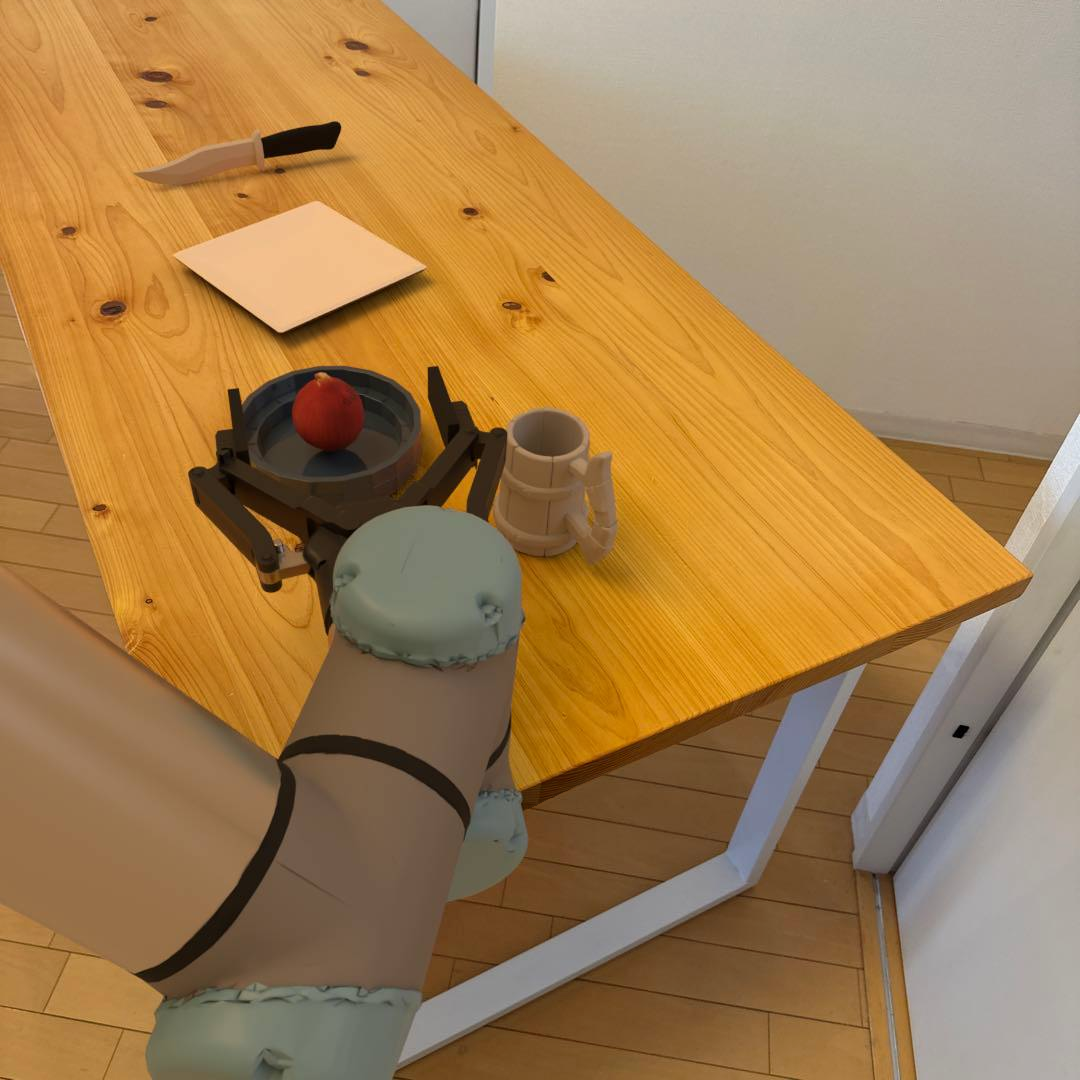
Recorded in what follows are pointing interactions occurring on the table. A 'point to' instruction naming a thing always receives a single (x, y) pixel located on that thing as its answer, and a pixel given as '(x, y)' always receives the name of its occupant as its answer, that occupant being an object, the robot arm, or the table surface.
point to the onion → (328, 413)
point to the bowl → (348, 473)
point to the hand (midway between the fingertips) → (336, 392)
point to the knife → (242, 154)
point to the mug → (555, 487)
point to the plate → (299, 265)
